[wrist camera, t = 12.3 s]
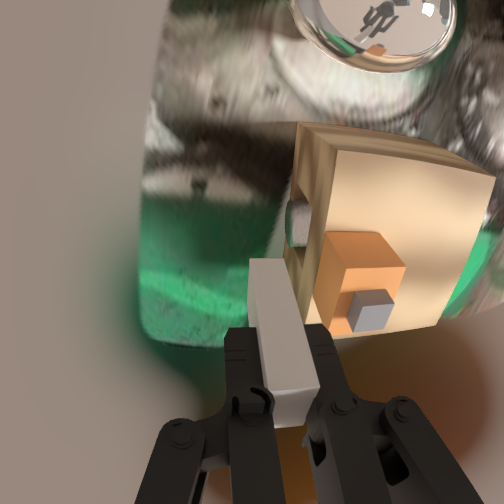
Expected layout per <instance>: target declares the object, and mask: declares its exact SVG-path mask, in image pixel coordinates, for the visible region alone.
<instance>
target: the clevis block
mask: <svg viewBox="0 0 504 504" xmlns="http://www.w3.org/2000/svg"><path fill="white" fill-rule="evenodd" d="M495 179H496V177H494V176H493V175H491V174H489V173H488V172H486V171H484V170H483V169H481V168H479V167H477V166H476V165H474V164H472V163H470V162H469V161H467V160H465V159H463V158H461V157H459V156H457V155H456V154H454V153H452V152H450V151H448V150H446V149H444V148H442V147H440V146H438V145H436V144H434V143H432V142H430V141H425V140H421V139H416V138H411V137H406V136H401V135H396V134H391V133H385V132H379V131H373V130H367V129H360V128H353V127H346V126H338V125H329V124H320V123H309V122H298V121H297V131H296V142H295V152H294V163H293V173H292V182H291V192H290V199H297V200H308V201H309V203H310V205H311V206H312V214H311V221H310V227H309V234H308V240H307V246H306V247H289V246H288V244H287V240H286V237H285V245H284V254H283V258H284V261H285V264H286V268H287V271H288V274H289V278H290V281H291V285H292V288H293V291H294V295H295V298H296V302H297V305H298V309H299V312H300V316H301V319H302V323H303V324H317V323H322V321H321V318H320V315H319V313H318V310H317V307H316V304H315V301H314V299H313V291H314V286H315V282H316V277H317V272H318V267H319V262H320V258H321V252H322V247H323V242H324V237H325V232H373V233H380V234H381V235H382V236H383V238H384V239H385V240H386V241H387V243H388V244H389V245H390V246H391V248H392V249H393V250H394V251H395V253H396V254H397V255H398V256H399V258H400V259H401V260H402V261H403V263H404V264H405V265H406V270H405V272H404V275H403V278H402V280H401V283H400V285H399V288H398V290H397V293H396V295H395V298H394V300H393V301H394V303H395V305H394V307H393V309H392V312H391V314H390V316H389V318H388V321H387V323H386V325H385V327H384V329H383V330H379V331H371V332H362V333H353V334H343V335H333V336H332V339H339V338H348V337H357V336H366V335H374V334H382V333H389V332H396V331H402V330H409V329H416V328H422V327H427V326H433V325H436V323H437V321H438V319H439V318H440V316H441V314H442V312H443V310H444V308H445V306H446V304H447V302H448V300H449V298H450V296H451V294H452V292H453V290H454V288H455V286H456V284H457V282H458V280H459V278H460V275H461V273H462V271H463V269H464V266H465V264H466V262H467V259H468V257H469V255H470V252H471V250H472V247H473V245H474V242H475V240H476V237H477V234H478V232H479V229H480V226H481V224H482V221H483V218H484V215H485V212H486V209H487V206H488V203H489V200H490V196H491V193H492V190H493V186H494V183H495Z"/></svg>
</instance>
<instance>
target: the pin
mask: <svg viewBox="0 0 504 504" xmlns="http://www.w3.org/2000/svg"><path fill="white" fill-rule="evenodd" d="M311 214H312V206H311V205H310V203H309V201H308V200H297V199H290V200H289V201H288V203H287V207H286V213H285V233H286V240H287V244H288V246H289V247H306V246H307V240H308V234H309V227H310V221H311Z"/></svg>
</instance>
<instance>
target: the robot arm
mask: <svg viewBox="0 0 504 504" xmlns="http://www.w3.org/2000/svg"><path fill="white" fill-rule="evenodd" d="M247 309H248V318H249V327H240V328H229V329H228V331H227V333H226V335H225V337H224V354H225V355H224V356H225V385H226V386H225V387H226V401H225V404H224V406H223V407H222V409H221V410H220V411H219V412H218V413H216V414H215V415H213V416H211V417H208V418H205V419H201V420H198V421H195V422H194V421H192V420H189V419H184V418H178V419H174V420H170V421H169V422H167V423H166V424H165V425H164V426H163V428H162V429H161V430H160V432H159V435H158V438H157V440H156V443H155V446H154V449H153V452H152V454H151V457H150V460H149V463H148V466H147V469H146V472H145V474H144V477H143V480H142V483H141V486H140V489H139V492H138V494H137V497H136V500H135V503H134V504H201V502H202V498H203V494H204V490H205V487H206V482H207V479H208V475H209V471H212V470H215V469H218V468H221V467H224V466H227V465H230V477H231V478H230V479H231V491H232V492H231V493H232V504H286V501H285V494H284V488H283V482H282V474H281V468H280V461H279V454H278V449H277V441H276V436H275V428H281V427H291V426H300V425H303V424H304V422H305V420H306V422H307V427H308V431H307V433H306V435H305V437H304V439H303V441H302V447H305V446H306V444H307V447H308V452H309V457H310V463H311V468H312V473H313V479H314V484H315V489H316V494H317V500H318V504H484V503H483V501H482V500H481V498H480V497H479V495H478V493H477V492H476V490H475V489H474V487H473V485H472V484H471V482H470V481H469V479H468V478H467V476H466V475H465V473H464V472H463V470H462V469H461V467H460V466H459V464H458V463H457V461H456V460H455V458H454V457H453V455H452V454H451V452H450V451H449V449H448V448H447V446H446V445H445V443H444V442H443V440H442V439H441V438H440V436H439V435H438V433H437V432H436V430H435V429H434V427H433V426H432V425H431V423H430V422H429V420H428V419H427V418H426V416H425V415H424V413H423V412H422V411H421V409H420V408H419V406H418V405H417V404H416V403H415V402H414V401H413V400H412V399H410V398H408V397H406V396H397V397H394V398H392V399H391V400H390V401H388V403H380V402H372V401H367V400H363V399H361V398H359V397H358V396H357V395H356V394H354V393H353V392H352V391H351V390H350V387H349V385H348V383H347V380H346V377H345V374H344V371H343V368H342V365H341V362H340V359H339V356H338V354H337V350H336V347H335V346H334V342H333V339H332V336H331V333H330V332H329V331H328V329H327V328H326V327H325V326H324V325H323V324H322V323H317V324H303V323H302V319H301V316H300V312H299V309H298V305H297V302H296V298H295V295H294V291H293V288H292V285H291V281H290V278H289V274H288V271H287V268H286V264H285V261H284V258H250V261H249V279H248V297H247Z"/></svg>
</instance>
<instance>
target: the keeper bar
mask: <svg viewBox="0 0 504 504" xmlns="http://www.w3.org/2000/svg"><path fill="white" fill-rule="evenodd" d="M405 270H406V265H405V264H404V263H403V261H402V260H401V259H400V258H399V256H398V255H397V254H396V253H395V251H394V250H393V249H392V248H391V246H390V245H389V244H388V243H387V241H386V240H385V239H384V238H383V236H382V235H381V234H380V233H373V232H325V237H324V242H323V247H322V252H321V258H320V262H319V267H318V272H317V277H316V282H315V286H314V291H313V299H314V301H315V304H316V307H317V310H318V313H319V315H320V318H321V321H322V324H323V325H324V326H325V327H326V328H327V329H328V331H329V332H330V333H331V336H333V335H343V334H353V333H362V332H371V331H379V330H383V329H384V327H385V325H386V323H387V321H388V318H389V316H390V314H391V312H392V309H393V307H394V305H395V303H394V301H393V300H394V298H395V295H396V293H397V290H398V288H399V285H400V283H401V280H402V278H403V275H404V272H405Z"/></svg>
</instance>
